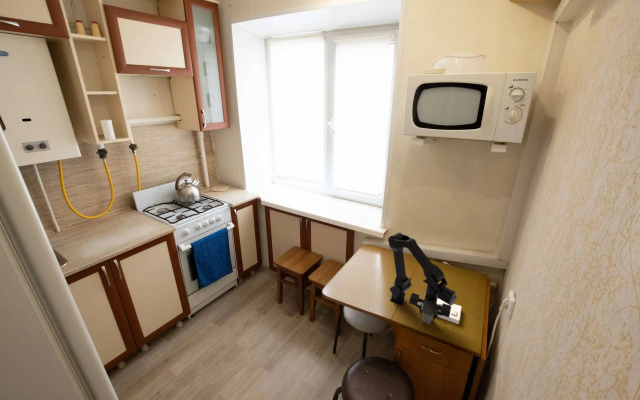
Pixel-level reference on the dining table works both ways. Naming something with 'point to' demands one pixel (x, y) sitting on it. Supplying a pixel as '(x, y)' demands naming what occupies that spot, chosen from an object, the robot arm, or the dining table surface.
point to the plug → (427, 318)
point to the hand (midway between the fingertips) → (427, 317)
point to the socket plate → (451, 312)
